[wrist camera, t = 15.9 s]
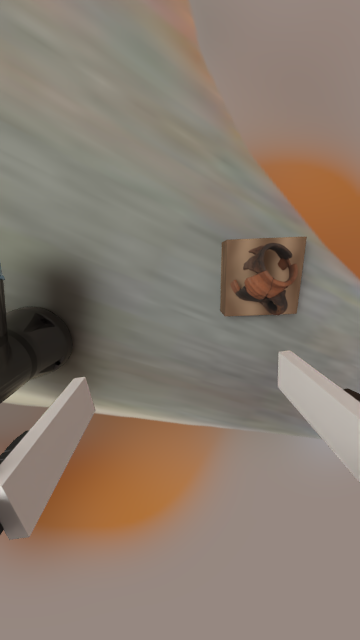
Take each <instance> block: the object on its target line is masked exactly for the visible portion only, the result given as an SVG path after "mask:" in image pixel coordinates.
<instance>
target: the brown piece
mask: <svg viewBox="0 0 360 640" xmlns="http://www.w3.org/2000/svg"><path fill="white" fill-rule="evenodd" d="M269 249H270V250H273V251H275V252H276V253H277V255H278V256H279V258H280V260H279V262H278V266H279V267H280V268H281V269H282V270H285V269H286V268H287V267H288V269H289V279H288V280H287V281H285V282H282V281H278V280H276V279H274V278H273V277H272V276H271V275H270V274H269V273H268V271H267V270H266V267H265V264H264V254H265V252H266V251H267V250H269ZM249 253H253V254H254V256H252V257H250V258H249V259H248V261H247V262H245V263H244V266H243V270H248V269H249V270H251V271H254V272H255V273H257V274H256V275H254V276H252V277H249V278H246V280H245V282H244V284H245V286H244V287H243V288H242V289H241V288H240V287H239V285H238V282H237V280H233V282H231V283H230V285H231V288H232V290H233V292H234V293H235V294H236V296H238V297H239V298H240V299H242V300H245V301H253V302H259V303H261V304H262V305H263V306H264V308H265V309H266V310H267V311H268V312H269V313H271V314H273V315H280V314H283V313H284V312H285V311H286V310H287V307H288V303H287V300H286V296H285V294H286V290H285V288H288V286H289V285H291V284H292V283H293V282H294V281H295V279H296V277H297V273H298V267H297V264H296V263H295V264H293V265H291V263H290V261H289V258H292V253H291V252H290V250H289V249H287V248H286V247H285V246H283V245H281V244H278V243H269V244H266V245H262V246H259V247H256V248H254V249H251V250H250V251H249ZM273 302H274V303H275V304H274V303H273Z"/></svg>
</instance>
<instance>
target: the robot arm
mask: <svg viewBox="0 0 360 640" xmlns="http://www.w3.org/2000/svg"><path fill="white" fill-rule="evenodd" d="M3 280H5V278H4V276H3V275H2V270H1V264H0V403H2V402H3V401H4V400H5V399H7V398H8V397H9V396H10V395H12V394H13V393H14V392H15V391H17V390H18V389H19V388H20V387H21V386H23V385H24V384H25V383H26V382H28V381H29V380H31V379H34V378H37V377H40V376H43V375H45V374H48V373H51V372H53V371H55V370H56V369H58V368H59V367H60V366H61V365H63V364H64V363H65V362H66V361H67V359H68V358H69V356H70V354H71V351H72V339H71V335H70V332H69V330H68V328H67V327H66V325H65V324H64V323H63V321H62V320H61V319H60V318H58V317H57V316H56V315H54V314H53V313H51V312H49V311H47V310H45V309H42V308H38V307H23V308H19V309H16V310H13V311H10V312H8V313H6V308H5V295H4V283H3ZM278 388H279V389H280V390H281V391H282V392H283V393H284V395H285V396H286V397H287V398H288V399H289V400H290V402H291V403H292V404H293V405H294V406H295V408H296V409H297V410H298V411H299V412H300V413H301V415H302V416H303V417H304V418H305V419H306V420H307V422H308V423H309V424H310V425H311V426H312V427H313V429H314V430H315V431H316V432H317V433H318V434H319V436H320V437H321V438H322V439H323V440H324V441H325V443H326V444H327V445H328V446H329V447H330V448H331V449H332V451H333V452H334V453H335V454H336V455H337V456H338V458H339V459H340V460H341V461H342V462H343V464H344V465H345V466H346V467H347V468H348V470H349V471H351V473H352V474H353V475H354V477H355V478H356V479H357V480H358V481H359V482H360V394H359V393H357V392H354V391H352V390H350V389H341V388H340V387H339V386H337V385H336V384H335V383H333V382H332V381H331V380H329V379H328V378H326V377H325V376H324V375H322V374H321V373H320V372H318V371H317V370H316V369H314V368H313V367H312V366H310V365H309V364H308V363H306V362H305V361H304V360H302V359H301V358H299V357H298V356H297V355H295V354H294V353H293V352H291V351H282V352H279V360H278ZM94 412H95V407H94V404H93V400H92V397H91V394H90V391H89V387H88V384H87V381H86V377H81V378H74V379H73V380H72V381H71V383H70V384H69V385H68V386H67V387H66V388H65V390H64V391H63V392H62V393H61V394H60V395H59V397H58V398H57V399H56V400H55V401H54V402H53V404H52V405H51V406H50V407H49V408H48V409H47V411H46V412H45V413H44V414H43V415H42V417H41V418H40V419H39V420H38V421H37V422H36V423H35V425H34V426H33V427H32V428H31V429H30V430H29V431H25V432H24V433H23V434H21V435H20V436H19V437H17V438H16V439H15V440H14V441H13V442H12V443H11V444H10V445H9V446H8V447H7V449H6V450H5V452H4V453H2V454H1V455H0V534H1V533H2V531H3V530H4V531H5V533H6V535H7V536H8V538H9V539H18V538H25V537H30V535H31V533H32V531H33V529H34V527H35V525H36V523H37V521H38V519H39V517H40V516H41V514H42V512H43V510H44V508H45V506H46V504H47V502H48V500H49V498H50V496H51V494H52V493H53V490H54V489H55V487H56V485H57V483H58V481H59V479H60V477H61V475H62V473H63V472H64V470H65V468H66V466H67V464H68V462H69V460H70V458H71V456H72V454H73V452H74V451H75V449H76V447H77V445H78V443H79V441H80V438H81V437H82V435H83V433H84V431H85V429H86V427H87V426H88V424H89V422H90V420H91V418H92V416H93V414H94Z"/></svg>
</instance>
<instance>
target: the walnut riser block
mask: <svg viewBox="0 0 360 640" xmlns="http://www.w3.org/2000/svg"><path fill="white" fill-rule="evenodd" d="M306 238H307V237H285V238H260V239H235V240H226V241H224V242H222V258H221V305H220V311H221V312H222V313H223V314H224V316H245V315H272V314H271V313H269V312H268V311H267V310H266V309H265V308H264V306H263V305H262V304H261V303H259V302H253V301H245V300H242V299H240V298H239V297H238V296H236V294H235V293H234V292H233V290H232V288H231V285H230V283H231V282H233V280H237V282H238V285H239V287H240V288H241V289H242V288H243V287H244V286H245V284H244V282H245V280H246V278H249V277H252V276H254V275H256V274H257V273H255V272H254V271H251V270H249V269H248V270H243V266H244V263H245V262H247V261H248V259H249V258H250V257H252V256H254V254H253V253H249V251H250V250H251V249H254V248H256V247H259V246H262V245H266V244H269V243H278V244H281V245H283V246H285V247H286V248H287V249H289V250H290V252H291V253H292V258H289V261H290V263H291V265H293V264H295V263H296V264H297V267H298V273H297V277H296V279H295V281H294V282H293V283H292V284H291V285H289V286H288V288H285V290H286V294H285V296H286V300H287V303H288V307H287V310H286V311H285V312H284V313H283V314H296V313H297V306H298V298H299V291H300V283H301V276H302V268H303V261H304V253H305V245H306ZM279 260H280V258H279V256H278V255H277V253H276V252H275V251H273V250H270V249H269V250H267V251H266V252H265V254H264V264H265V267H266V270H267V271H268V273H269V274H270V275H271V276H272V277H273V278H274V279H276V280H278V281H282V282H285V281H287V280H288V279H289V269H288V267H287V268H286V269H285V270H282V269H281V268H280V267H279V266H278V262H279ZM273 303H274V302H273ZM274 304H275V303H274Z"/></svg>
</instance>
